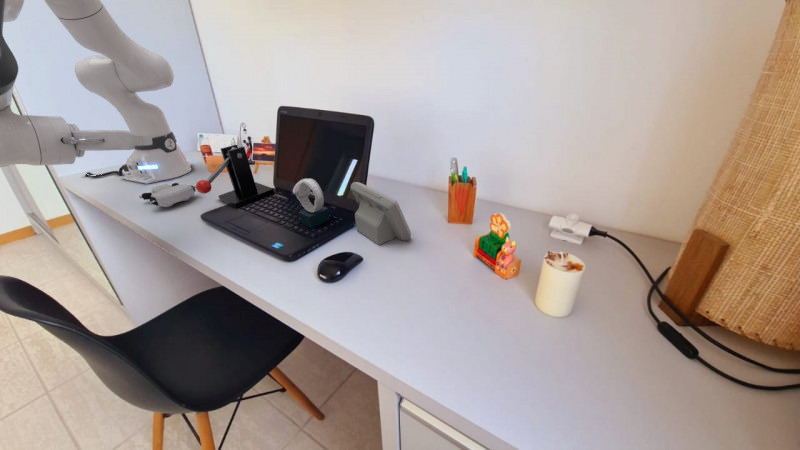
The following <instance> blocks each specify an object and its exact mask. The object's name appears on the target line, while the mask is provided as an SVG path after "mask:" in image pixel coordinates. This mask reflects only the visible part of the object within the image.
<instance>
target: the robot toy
mask: <svg viewBox="0 0 800 450" xmlns="http://www.w3.org/2000/svg"><path fill="white" fill-rule="evenodd" d="M195 192H196V185H195V186H194V185H191V184H188V183H181V184H179V183H178V182H174V183H172V184H169V183H163V184H159V185H156V186H154V187H152V189H151V192H143V193H142V194H140V195H139V196H138V199H143V200H144V201H145V200H147V201H149V202H148V203H149V204H150V205H151V204H152V205H154V206H157V207H162V208H170V207H172V206H174V204H176V203H179V202H180V203H181V202H186V201H189V200H190V199H191V197H193V196H194V195H195Z"/></svg>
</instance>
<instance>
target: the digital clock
mask: <svg viewBox="0 0 800 450" xmlns="http://www.w3.org/2000/svg"><path fill="white" fill-rule="evenodd" d="M350 191H351V193H352V195H353V197H354V199H355V202H356V203H357V204H358V208H357V210H356V211H355V213H354V221H355V228H356V231H358V232H359V233H360V234H362V236H365V237H366V238H367V239H369V240H371V242H373V243H375V244H376V245H378V246H381V245H383V244H384V243H387V242H389V241H392V240H394V239H396V238H397V239H399V240H400V241H404V242H405V241H406V242H407V241H409V240H411V237H412V231H411V229H410V227H409V225H408V222H407V220H406V218H405V215H404V213H403V211H402V209H401V206H400V204H399V202H398V201H397V200H396V199H395V198H392V197H391V196H388V195H386V194H384V193H383V192H380V191H378V190H376V189H374V188H372V187H370V186H368V185H366V184H364V183H362V182H360V181H353V182H352V183H351V184H350Z"/></svg>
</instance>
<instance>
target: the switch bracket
mask: <svg viewBox="0 0 800 450" xmlns="http://www.w3.org/2000/svg"><path fill="white" fill-rule="evenodd" d="M232 147H234V148H235V149H232V150H230V149H231V148H232ZM220 152H221V155H222V158H223V162H224V161H225V160H226V159H227V158H228V156H227V155H226V153H227V152H228V154H229V158H230V161H231V162H230V163H229V164H228V165H227V166H226V167H225V168H226V170H227V174H228V176H229V179H230V182H231V185H232V188H233V190H231V191H227V192H225V193H222V194H219V195H218V199H219V201H220V202H222V203H224V204H227V205H229V206H231V207H234V208H235V209H239V208H241V207H244V206H247V205H249V204H252V203H253V202H257V201H259V200H261V199H263V198H267V197H270V196H272V195H273V194H275V193H276V192H275V189H274V188H273V187H271V186H267V185H265V184H262V183H259V182H257V181H255V179H254V175H253V171H252V168H251V165H250V161H249V158H248V154H247V151H246V148H245V146H239V147H238V145H237V144H232V145H228V146H224V147H221V148H220Z"/></svg>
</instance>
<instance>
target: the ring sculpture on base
mask: <svg viewBox="0 0 800 450" xmlns="http://www.w3.org/2000/svg"><path fill="white" fill-rule="evenodd" d="M310 192H312V193H313V195H314V201H313V202H314V203H312V202H311V201H310V198H309V196H310ZM292 194H293V195H295V197H296V199H297V200H298V201H299V203H300V204H301V206H302V207H303V208H304V209H303V210H301V211H299V212H298V214H299V219H300V223H301V225H304V226H305V227H307V228H310V229H314V228H316V227H318V226H320V225H322V224H324V223H326V222H328V221H330V220H331V217H330V211H329V208H328V207H326V206H324V204H325V197H324V193H323V191H322V188H321V186H320V185H319V183H318V182H317V181H316V179H313V178H311V177H310V178H302V179H300V180H299V181H298V182H296V184H295V185H294V186H293V188H292Z"/></svg>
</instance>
